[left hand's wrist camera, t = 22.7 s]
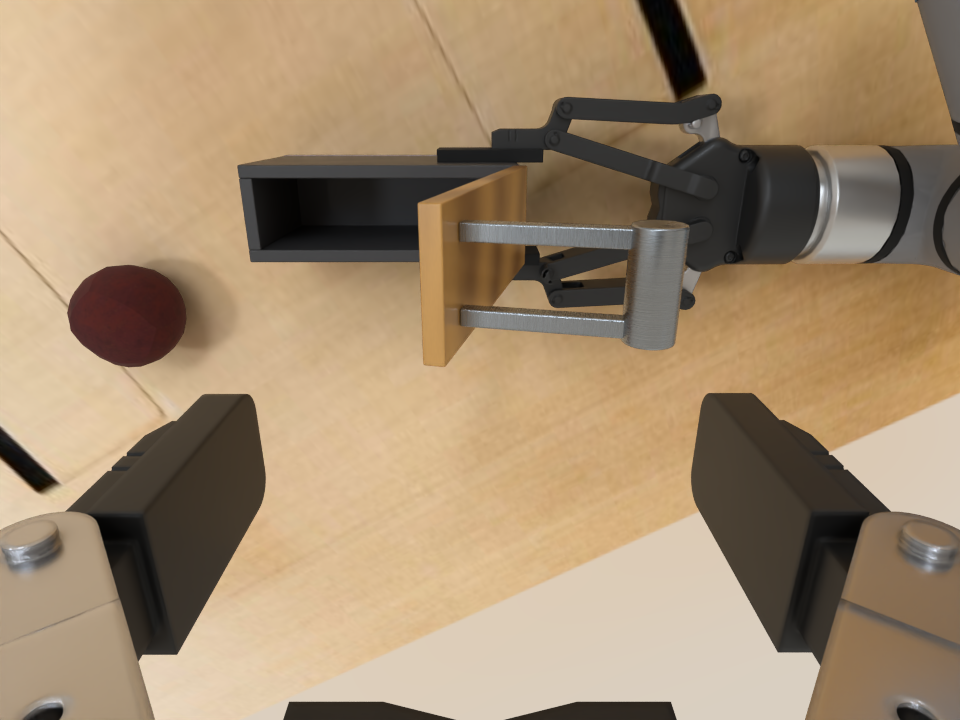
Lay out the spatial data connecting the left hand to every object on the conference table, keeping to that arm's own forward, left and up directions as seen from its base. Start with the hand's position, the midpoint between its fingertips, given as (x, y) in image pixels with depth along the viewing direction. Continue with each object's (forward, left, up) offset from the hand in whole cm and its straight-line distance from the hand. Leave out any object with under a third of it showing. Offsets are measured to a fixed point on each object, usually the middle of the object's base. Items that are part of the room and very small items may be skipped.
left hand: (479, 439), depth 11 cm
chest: (+4, -5, -37) cm, 38 cm away
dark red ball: (+23, -15, -38) cm, 46 cm away
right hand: (+2, -2, -31) cm, 31 cm away
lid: (0, 0, -19) cm, 19 cm away
